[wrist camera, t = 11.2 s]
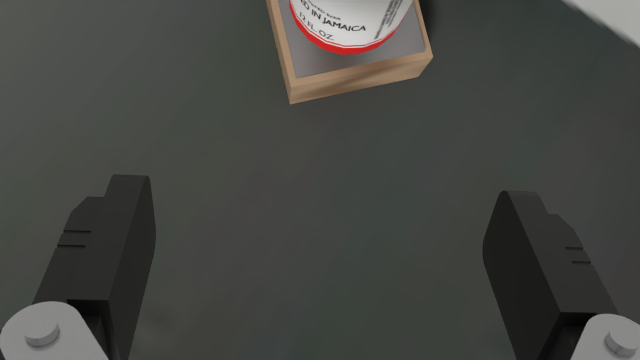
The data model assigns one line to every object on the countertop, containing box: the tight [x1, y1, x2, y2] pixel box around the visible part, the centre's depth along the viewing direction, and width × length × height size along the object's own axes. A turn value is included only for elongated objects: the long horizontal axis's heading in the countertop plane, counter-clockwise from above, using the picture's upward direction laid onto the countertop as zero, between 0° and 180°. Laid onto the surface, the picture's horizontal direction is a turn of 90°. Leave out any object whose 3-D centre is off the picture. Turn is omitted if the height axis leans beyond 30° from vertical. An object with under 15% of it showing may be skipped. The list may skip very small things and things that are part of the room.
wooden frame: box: [266, 0, 433, 104], centre depth 35 cm, size 8×8×4 cm
